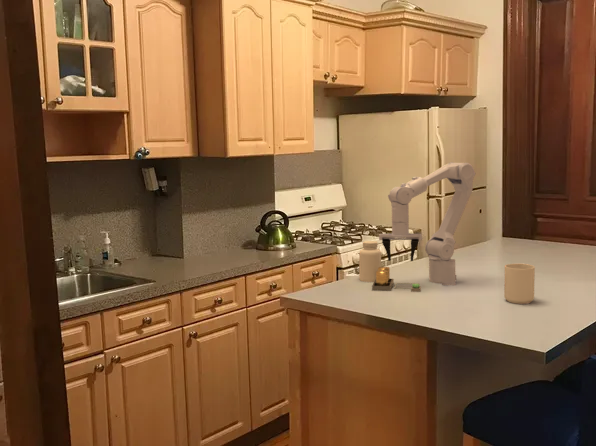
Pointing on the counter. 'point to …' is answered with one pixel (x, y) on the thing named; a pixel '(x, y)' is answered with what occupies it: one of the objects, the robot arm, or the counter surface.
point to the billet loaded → (386, 270)
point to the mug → (519, 283)
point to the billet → (382, 278)
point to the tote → (403, 283)
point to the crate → (383, 288)
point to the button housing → (415, 289)
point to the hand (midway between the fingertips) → (400, 260)
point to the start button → (415, 285)
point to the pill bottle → (369, 261)
